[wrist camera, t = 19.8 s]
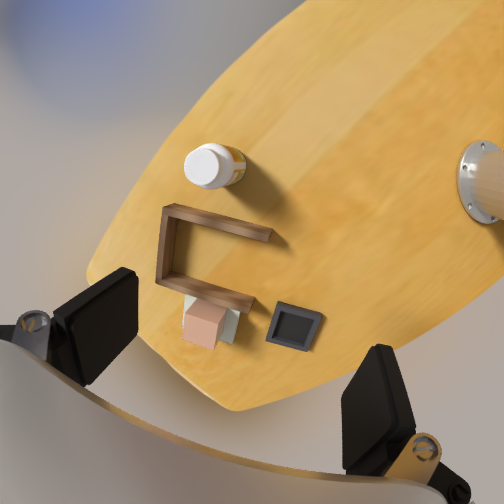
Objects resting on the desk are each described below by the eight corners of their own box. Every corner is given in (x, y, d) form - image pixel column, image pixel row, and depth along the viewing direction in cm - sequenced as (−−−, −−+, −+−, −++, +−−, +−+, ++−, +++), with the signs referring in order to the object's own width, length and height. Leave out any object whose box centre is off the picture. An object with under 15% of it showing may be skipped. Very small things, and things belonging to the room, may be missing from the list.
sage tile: (243, 300, 42) (241, 304, 40) (234, 339, 44) (232, 344, 43) (190, 283, 43) (186, 286, 41) (185, 322, 45) (181, 326, 44)
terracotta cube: (228, 306, 41) (218, 324, 36) (223, 332, 43) (213, 350, 38) (197, 297, 41) (184, 313, 37) (194, 322, 43) (182, 339, 38)
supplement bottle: (209, 147, 35) (177, 142, 26) (247, 146, 34) (225, 140, 25) (208, 184, 37) (177, 192, 28) (246, 185, 36) (225, 192, 27)
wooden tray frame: (272, 228, 37) (268, 235, 34) (253, 302, 41) (248, 314, 38) (174, 203, 39) (162, 207, 36) (165, 274, 43) (155, 283, 40)
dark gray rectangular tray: (321, 313, 40) (322, 317, 39) (307, 347, 42) (307, 352, 41) (277, 301, 41) (276, 304, 39) (266, 336, 43) (265, 340, 42)
